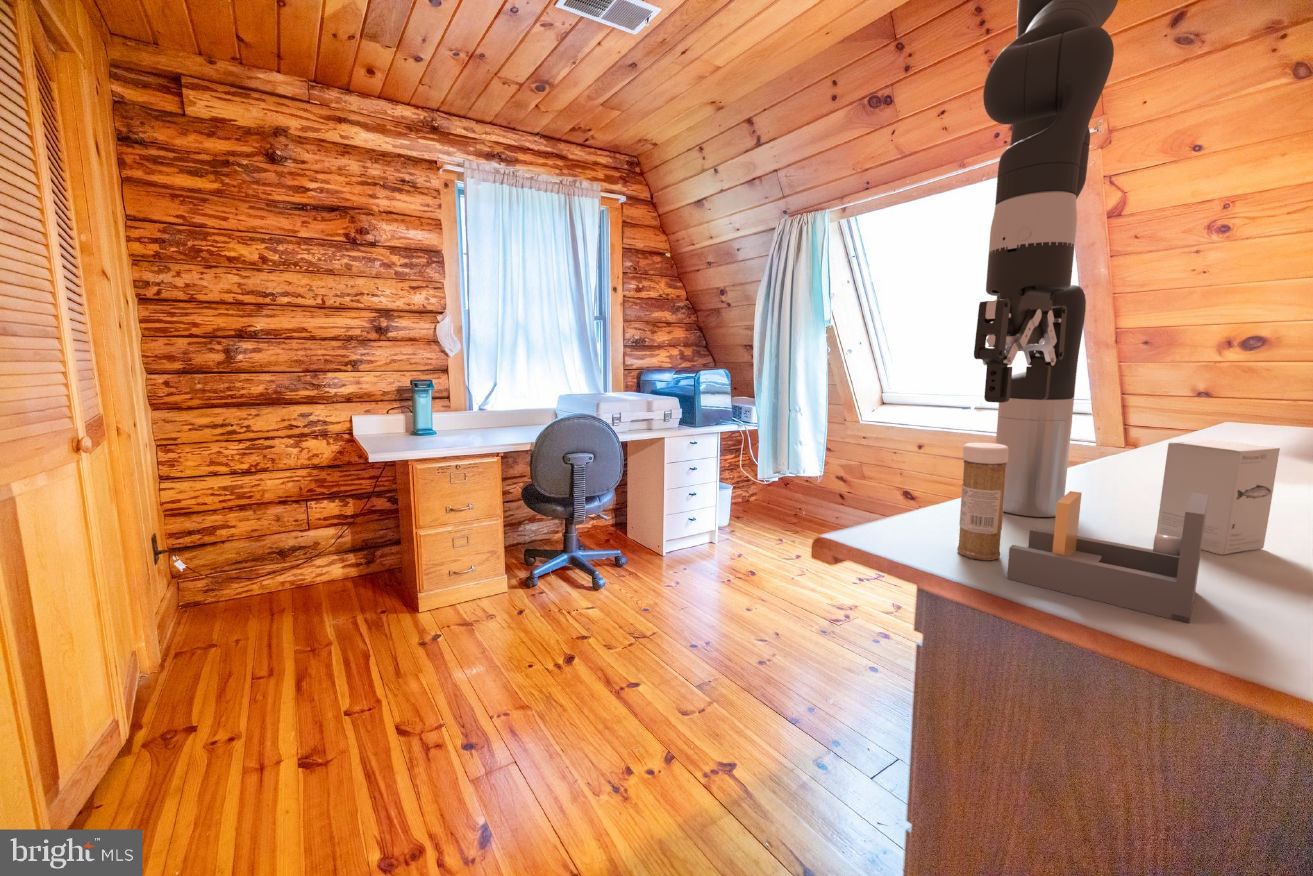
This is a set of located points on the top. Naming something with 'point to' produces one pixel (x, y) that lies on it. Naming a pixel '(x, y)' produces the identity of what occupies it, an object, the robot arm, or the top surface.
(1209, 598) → the top surface
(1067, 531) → the block
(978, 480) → the sprinkles bottle
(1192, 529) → the lane
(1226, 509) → the supplement box
